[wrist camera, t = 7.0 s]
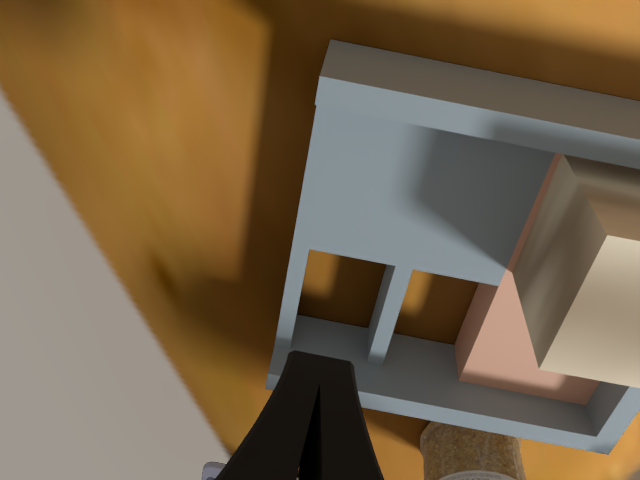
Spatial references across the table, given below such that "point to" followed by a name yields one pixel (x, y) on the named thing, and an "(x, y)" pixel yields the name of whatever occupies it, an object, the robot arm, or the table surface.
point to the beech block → (585, 273)
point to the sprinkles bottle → (469, 454)
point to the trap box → (449, 235)
